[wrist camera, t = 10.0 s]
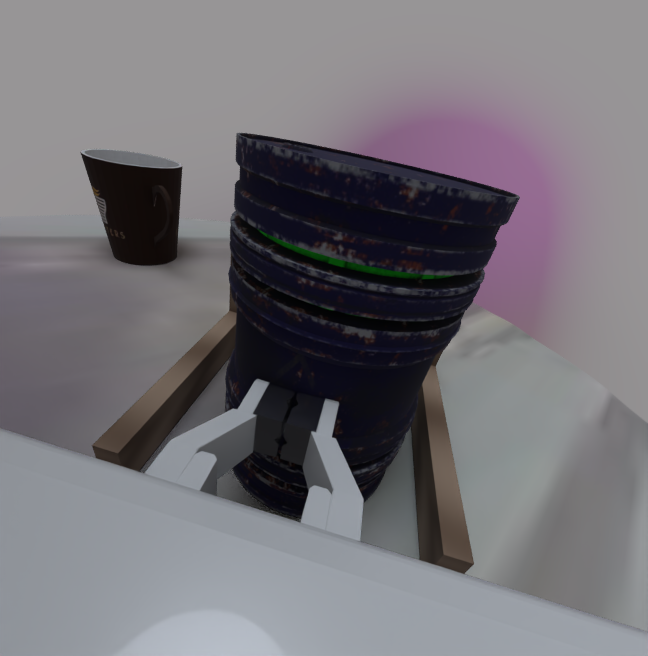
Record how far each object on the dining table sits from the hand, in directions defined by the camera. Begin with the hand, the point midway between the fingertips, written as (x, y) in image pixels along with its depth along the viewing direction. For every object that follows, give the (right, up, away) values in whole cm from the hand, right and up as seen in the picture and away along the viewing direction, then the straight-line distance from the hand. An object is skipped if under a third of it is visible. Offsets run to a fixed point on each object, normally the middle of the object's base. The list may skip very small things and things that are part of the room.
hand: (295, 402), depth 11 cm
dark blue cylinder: (0, -4, +8) cm, 9 cm away
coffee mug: (-19, +10, +24) cm, 32 cm away
